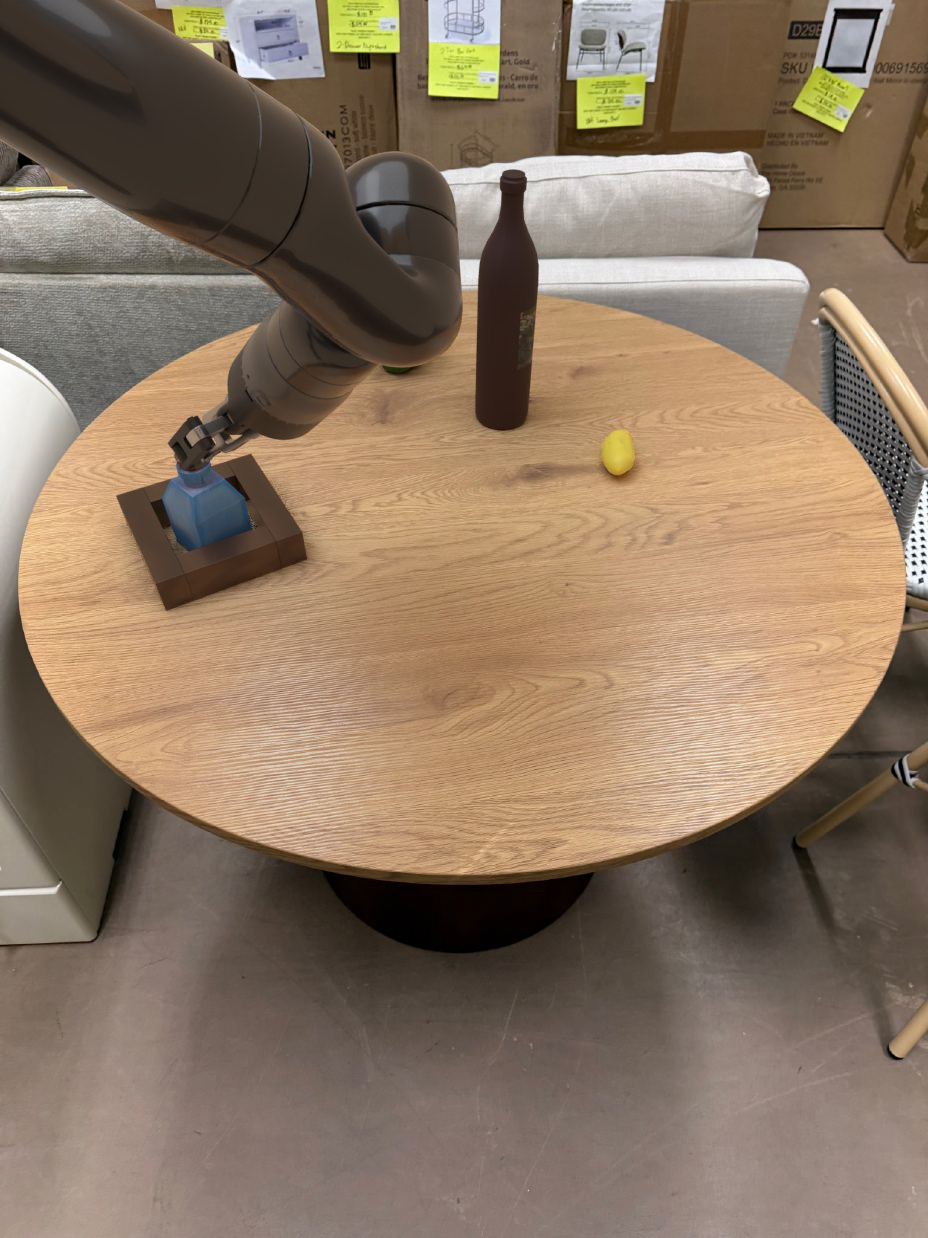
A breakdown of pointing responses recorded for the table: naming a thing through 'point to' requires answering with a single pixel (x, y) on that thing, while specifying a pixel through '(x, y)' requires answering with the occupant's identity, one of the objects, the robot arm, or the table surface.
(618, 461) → the lemon
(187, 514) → the perfume bottle
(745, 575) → the table surface
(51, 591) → the table surface
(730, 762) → the table surface
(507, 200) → the wine bottle
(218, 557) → the holder
